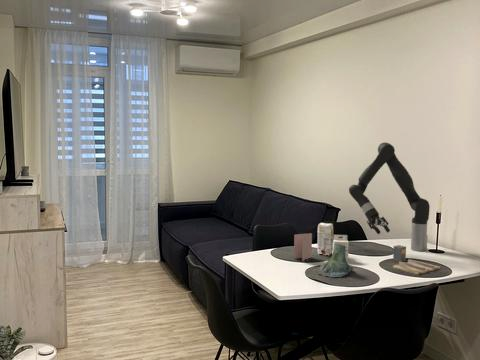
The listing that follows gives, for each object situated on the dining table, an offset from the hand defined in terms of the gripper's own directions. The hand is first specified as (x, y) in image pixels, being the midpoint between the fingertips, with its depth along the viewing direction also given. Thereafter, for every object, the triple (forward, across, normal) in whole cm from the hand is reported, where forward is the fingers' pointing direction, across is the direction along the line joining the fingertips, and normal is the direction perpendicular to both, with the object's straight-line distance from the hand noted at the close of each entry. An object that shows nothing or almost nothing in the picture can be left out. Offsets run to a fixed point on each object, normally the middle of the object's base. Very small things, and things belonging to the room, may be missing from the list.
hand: (384, 232), depth 279 cm
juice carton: (-6, -26, +27) cm, 38 cm away
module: (+18, 0, +2) cm, 19 cm away
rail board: (+29, -5, -8) cm, 31 cm away
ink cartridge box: (+5, -28, +16) cm, 33 cm away
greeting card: (-4, -45, +25) cm, 52 cm away
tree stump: (+15, -48, +6) cm, 51 cm away
